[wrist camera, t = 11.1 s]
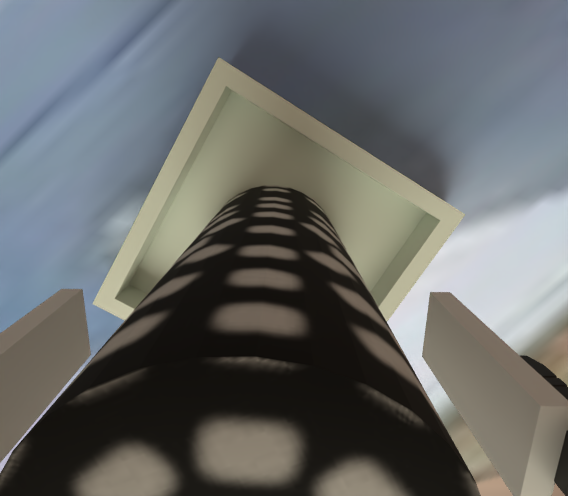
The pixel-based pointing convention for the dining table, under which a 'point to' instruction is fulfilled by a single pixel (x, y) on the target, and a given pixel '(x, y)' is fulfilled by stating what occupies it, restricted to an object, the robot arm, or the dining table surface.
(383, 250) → the tray
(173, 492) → the spotted tube
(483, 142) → the dining table surface
